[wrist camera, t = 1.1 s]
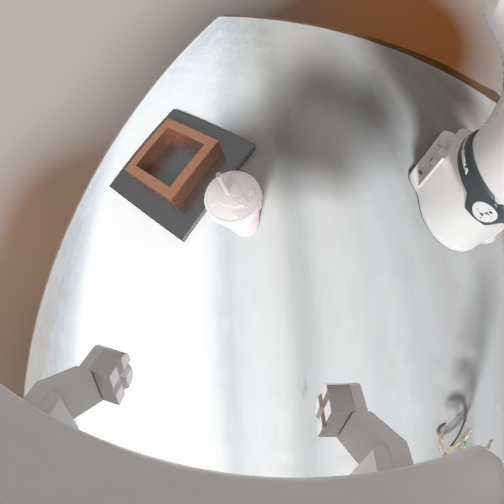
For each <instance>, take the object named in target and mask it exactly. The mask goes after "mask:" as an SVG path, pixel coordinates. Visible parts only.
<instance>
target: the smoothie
mask: <svg viewBox="0 0 504 504" xmlns="http://www.w3.org/2000/svg"><path fill="white" fill-rule="evenodd" d="M262 202H263V193H262V190H261V188H260V185H259V183H258V182H257V180H256V179H255V178H254V177H253V176H251V175H250V174H248V173H246V172H242V171H228V172H225V173H222V174H221V173H220V172H218V173H216V178H215V179H213V180H212V181H211V183H210V184H209V185H208V187H207V189H206V192H205V196H204V203H205V207H206V210H207V212H208V214H209V215H210V217H211V218H212V219H213V220H214V221H215V222H217V223H218V224H221V225H223V226H227V227H228V228H230V229H231V230H232V231H234V232H235V233H236V234H238V235H240V236H243V237H247V236H251V235H253V234H254V233H255V232H256V231H257V229H258V226H259V211H260V209H261V207H262Z"/></svg>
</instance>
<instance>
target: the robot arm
mask: <svg viewBox="0 0 504 504" xmlns="http://www.w3.org/2000/svg"><path fill="white" fill-rule="evenodd" d="M478 3H479V7H480V10H481V13H482V16H483V18H484V20H485V23H486V25H487V26H488V28H489V30H490V32H491V33H492V35H493V37H494V39H495V42H496V44H497V46H498V49H499V52H500V55H501V60H502V64H503V74H504V0H478ZM503 80H504V79H503ZM419 172H420V173H421V174H419ZM409 179H410V181H411V183H412V185H413V187H414V189H415V191H416V192H417V195H418V199H419V205H420V209H421V213H422V216H423V218H424V220H425V222H426V224H427V226H428V228H429V229H430V231H431V232H432V234H433V235H434V236H435V237H436V238H437V239H438V240H439V241H440V242H441V243H442V244H444V245H445V246H447V247H448V248H450V249H452V250H456V251H468V250H471V249H473V248H475V247H476V246H477V245H479V244H489V243H491V242H493V241H494V239H495V235H496V234H497V233H499V232H500V231H502V230H503V229H504V81H503V89H502V94H501V96H500V99H499V101H498V103H497V105H496V107H495V108H494V110H493V112H492V113H491V115H490V116H489V118H488V119H487V121H486V122H485V123H484V125H483V126H481V129H478V130H476V131H474V132H472V131H470V130H468V129H463V128H462V129H459V130H458V131H457V133H456V134H455V133H452V132H449V131H442V132H441V133H440V135H439V136H438V137H437V139H436V140H435V141H434V143H433V144H432V145H431V147H430V148H429V149H428V151H427V152H426V153H425V154H424V156H423V157H422V158H421V160H420V161H419V162H418V163H417V165H416V166H415V167H414V169H413V170H412V171H411V172H410V174H409ZM129 361H130V359H129V355H128V354H126V353H123V352H120V351H117V350H114V349H110V348H107V347H104V346H101V345H96V346H95V347H94V348H93V349H92V350H91V352H90V353H89V354H88V356H87V357H86V358H85V359H84V361H83V362H82V363H81V365H80V366H79V367H78V366H75V367H73V368H70V369H68V370H65V371H63V372H60V373H58V374H55V375H53V376H50V377H48V378H45V379H43V380H40V381H38V382H36V383H35V385H34V386H33V387H32V388H31V390H30V391H29V392H28V394H27V395H26V396H25V397H24V399H22V398H20V397H19V396H17V395H16V394H14V393H13V392H11V391H10V390H8V389H7V388H5V387H4V386H3V385H1V384H0V504H504V466H503V464H502V462H501V460H500V458H499V457H497V456H496V455H495V454H493V453H492V452H490V451H489V450H487V449H486V448H484V447H482V446H480V445H474V446H471V447H468V448H465V449H463V450H460V451H457V452H454V453H451V454H448V455H445V456H442V457H439V458H435V459H432V460H428V461H424V462H421V463H417V464H413V460H412V457H411V454H410V451H409V447H408V444H407V442H406V441H405V440H404V439H403V438H402V437H400V436H399V435H398V434H397V433H396V432H395V431H393V430H392V429H391V428H390V427H389V426H387V425H386V424H385V423H384V422H383V421H382V420H380V419H379V418H378V417H377V416H376V415H375V414H374V413H372V412H368V409H367V406H366V403H365V399H364V396H363V392H362V389H361V386H360V384H359V383H324V384H323V386H322V388H321V392H322V393H321V394H320V395H318V398H317V400H316V405H315V414H316V417H317V418H318V419H319V420H318V422H317V433H318V437H337V438H338V439H339V441H340V442H341V443H342V444H343V446H344V447H345V448H346V449H347V451H348V452H349V453H350V454H351V455H352V457H353V458H354V459H355V460H356V461H357V463H358V464H359V465H358V466H357V468H356V469H355V470H354V471H353V472H352V473H351V474H350V475H345V476H333V477H313V478H283V477H263V476H250V475H240V474H232V473H224V472H218V471H212V470H206V469H200V468H195V467H190V466H185V465H181V464H177V463H172V462H168V461H165V460H161V459H157V458H154V457H150V456H147V455H143V454H140V453H137V452H134V451H131V450H128V449H125V448H122V447H119V446H117V445H114V444H111V443H109V442H106V441H104V440H101V439H99V438H96V437H94V436H92V435H89V434H87V433H85V432H83V431H80V430H79V428H78V426H77V424H76V422H75V421H74V418H75V417H77V416H79V415H80V414H82V413H83V412H85V411H87V410H88V409H90V408H91V407H93V406H95V405H96V404H98V403H99V402H101V401H102V399H103V400H106V401H109V402H112V403H115V404H118V405H119V404H120V402H121V400H122V398H123V397H124V395H125V393H124V389H126V388H128V387H129V385H130V383H131V380H132V368H131V366H130V365H129V364H128V362H129Z"/></svg>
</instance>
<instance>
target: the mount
mask: <svg viewBox="0 0 504 504" xmlns="http://www.w3.org/2000/svg"><path fill="white" fill-rule="evenodd" d="M254 149H255V145H254V144H252V143H250V142H248V141H246V140H244V139H242V138H240V137H238V136H236V135H233V134H231V133H229V132H227V131H225V130H223V129H220V128H218V127H216V126H214V125H211V124H209V123H207V122H204V121H202V120H200V119H197V118H195V117H193V116H190V115H188V114H185V113H183V112H180V111H178V110H175V109H173V110H172V111H171V112H170V113H169V114H168V116H167V117H166V118H165V119H164V120H163V121H162V122H161V123H160V124H159V125H158V126H157V128H156V129H155V130H154V131H153V132H152V133H151V134H150V136H149V137H148V138H147V139H146V140H145V141H144V143H143V144H142V145H141V146H140V147H139V149H138V150H137V151H136V152H135V154H134V155H133V156H132V157H131V158H130V160H129V161H128V162H127V164H126V165H125V166H124V167H123V169H122V170H121V171H120V173H119V174H118V175H117V177H116V178H115V179H114V181H113V182H112V183H111V185H110V187H111V188H113V189H114V190H115V191H116V192H118V193H119V194H120V195H122V196H123V197H124V198H126V199H127V200H128V201H130V202H131V203H132V204H133V205H135V206H136V207H137V208H139V209H140V210H141V211H143V212H144V213H145V214H147V215H148V216H149V217H151V218H152V219H153V220H155V221H156V222H157V223H159V224H160V225H161V226H163V227H164V228H165V229H167V230H168V231H170V232H171V233H172V234H174V235H175V236H176V237H178V238H179V239H180V240H182V241H183V242H184V241H185V240H186V239H187V237H188V236H189V234H190V233H191V232H192V230H193V229H194V228H195V226H196V225H197V223H198V222H199V221H200V219H201V218H202V217H203V215H204V214H205V212H206V211H207V210H206V207H205V203H204V196H205V192H206V189H207V187H208V185H209V184H210V183H211V181H212V180H213V179H215V178H216V173H218V172H220V173H221V174H222V173H225V172H228V171H237V170H238V169H239V168H240V167H241V165H242V164H243V163H244V162H245V160H246V159H247V158H248V157H249V155H250V154H251V153H252V152H253V150H254Z"/></svg>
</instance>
